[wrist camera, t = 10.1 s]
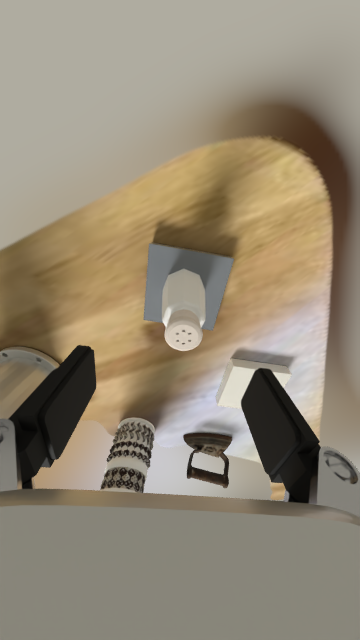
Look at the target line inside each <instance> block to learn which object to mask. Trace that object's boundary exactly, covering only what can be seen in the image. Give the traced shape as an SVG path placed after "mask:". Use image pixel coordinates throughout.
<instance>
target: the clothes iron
mask: <svg viewBox="0 0 360 640" xmlns="http://www.w3.org/2000/svg"><path fill="white" fill-rule="evenodd" d="M183 437H184V441H185V442H186V443H187V445H189V446H190V447H192V448H193V449H195V450H194V451H193V452H192V453H191V455H190V458H189V462H188V468H187V478H188V479H189V478H195V479H199V480H202V481H206V482H210V483H214V484H218V485H222V486H223V487H224V488H227V487H228V484H229V480H228V468H229V460H228V458H227V457H226V455H225V454H224V453H223V452H224V451H225V450H226V449H227V448H228V446H229V445H230V444H231V441H232V437H229V436H225V435H219V434H211V433H193V434H186V435H184V436H183ZM198 452H202V453H205V454H208V455H211V456H215V457H219V456H220V457H221V458H222V459H223V460H224V462H225V468H224V474H223V475H221V474H217V473H213V472H209V471H205V470H202V469H198V468H194V467H192V466H191V462H192V458H193V454H194V453H198Z"/></svg>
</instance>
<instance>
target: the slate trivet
mask: <svg viewBox="0 0 360 640" xmlns="http://www.w3.org/2000/svg"><path fill="white" fill-rule="evenodd" d="M233 261H234V258H232V257H230V256H225V255H220V254H214V253H208V252H203V251H197V250H192V249H186V248H181V247H175V246H170V245H164V244H158V243H153V242H152V243H149V254H148V268H147V281H146V295H145V308H144V320H148V321H155V322H161V323H163V321H162V294H163V288H164V285H165V282H166V280H167V277H168V275H170V274H172V273H175V272H177V271H179V270H181V269H186V270H188V271H191V272H193V273H196V274H198V275H200V278H201V281H202V283H203V286H204V289H205V314H206V317H205V322H204V324H203V325H202V327H201V329H207V330H213V328H214V324H215V321H216V318H217V314H218V311H219V308H220V304H221V301H222V298H223V294H224V291H225V287H226V284H227V281H228V277H229V274H230V271H231V267H232V264H233Z"/></svg>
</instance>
